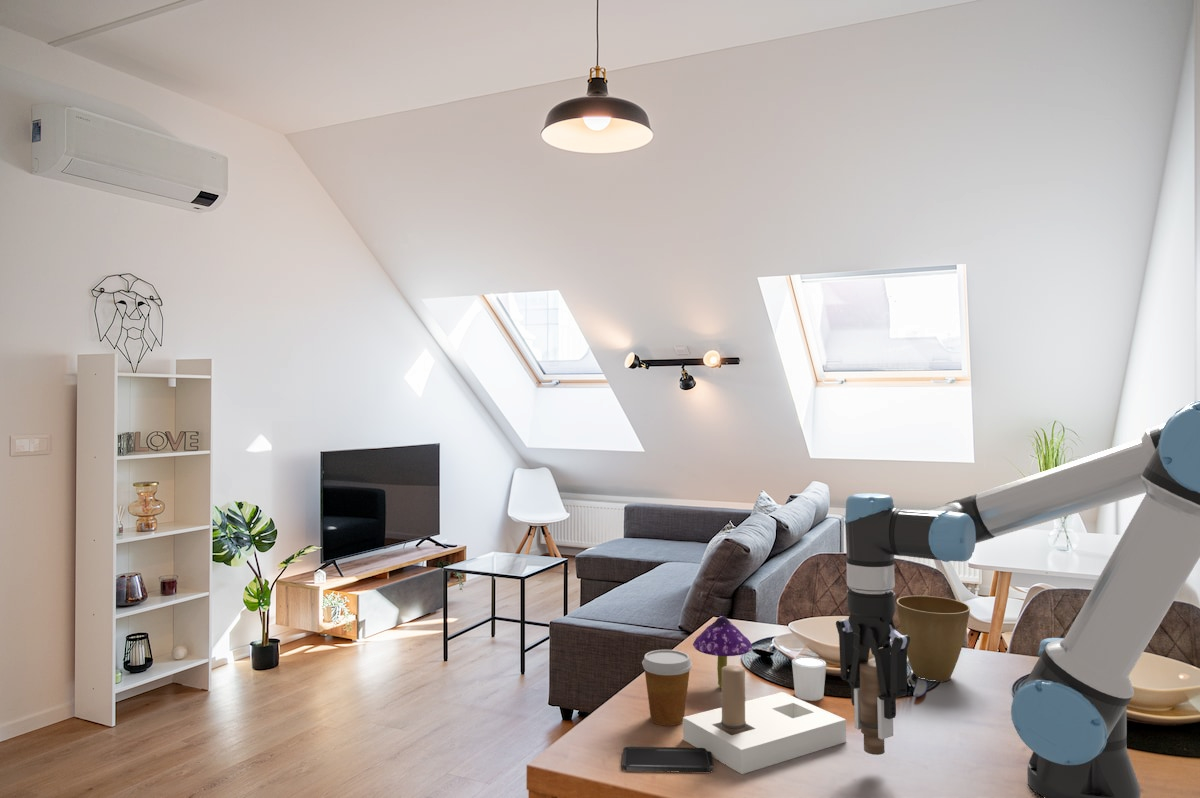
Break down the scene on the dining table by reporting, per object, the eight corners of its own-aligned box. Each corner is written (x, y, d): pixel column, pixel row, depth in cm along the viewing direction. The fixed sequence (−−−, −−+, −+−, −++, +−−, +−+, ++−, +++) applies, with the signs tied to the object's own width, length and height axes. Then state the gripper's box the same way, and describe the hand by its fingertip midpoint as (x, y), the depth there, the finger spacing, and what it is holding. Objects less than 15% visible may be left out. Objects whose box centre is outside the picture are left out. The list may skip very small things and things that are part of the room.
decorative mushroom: (750, 678, 180) (750, 609, 180) (755, 699, 168) (754, 625, 168) (692, 676, 182) (692, 608, 182) (693, 697, 169) (692, 623, 169)
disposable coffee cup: (634, 723, 156) (633, 660, 156) (654, 706, 164) (654, 646, 164) (681, 733, 151) (680, 667, 151) (699, 715, 160) (699, 653, 160)
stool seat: (846, 741, 147) (845, 663, 147) (741, 774, 135) (741, 688, 135) (782, 712, 161) (782, 640, 161) (682, 739, 149) (682, 661, 148)
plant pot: (898, 684, 176) (898, 609, 176) (895, 663, 190) (894, 593, 190) (974, 691, 171) (974, 614, 171) (965, 669, 186) (965, 597, 185)
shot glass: (827, 702, 166) (827, 667, 166) (792, 700, 167) (792, 665, 167) (825, 690, 173) (825, 657, 173) (791, 688, 174) (791, 655, 174)
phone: (713, 768, 135) (622, 766, 136) (713, 775, 135) (622, 772, 136) (710, 747, 143) (623, 745, 144) (710, 754, 143) (623, 752, 144)
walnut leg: (893, 752, 135) (891, 665, 135) (875, 758, 133) (873, 670, 133) (872, 743, 138) (871, 659, 139) (855, 749, 136) (853, 663, 136)
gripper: (930, 595, 130) (933, 744, 130) (846, 577, 145) (849, 710, 145) (898, 602, 126) (901, 755, 126) (815, 582, 141) (818, 720, 141)
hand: (873, 731), depth 136 cm, fingers closed on walnut leg, 4 cm apart
